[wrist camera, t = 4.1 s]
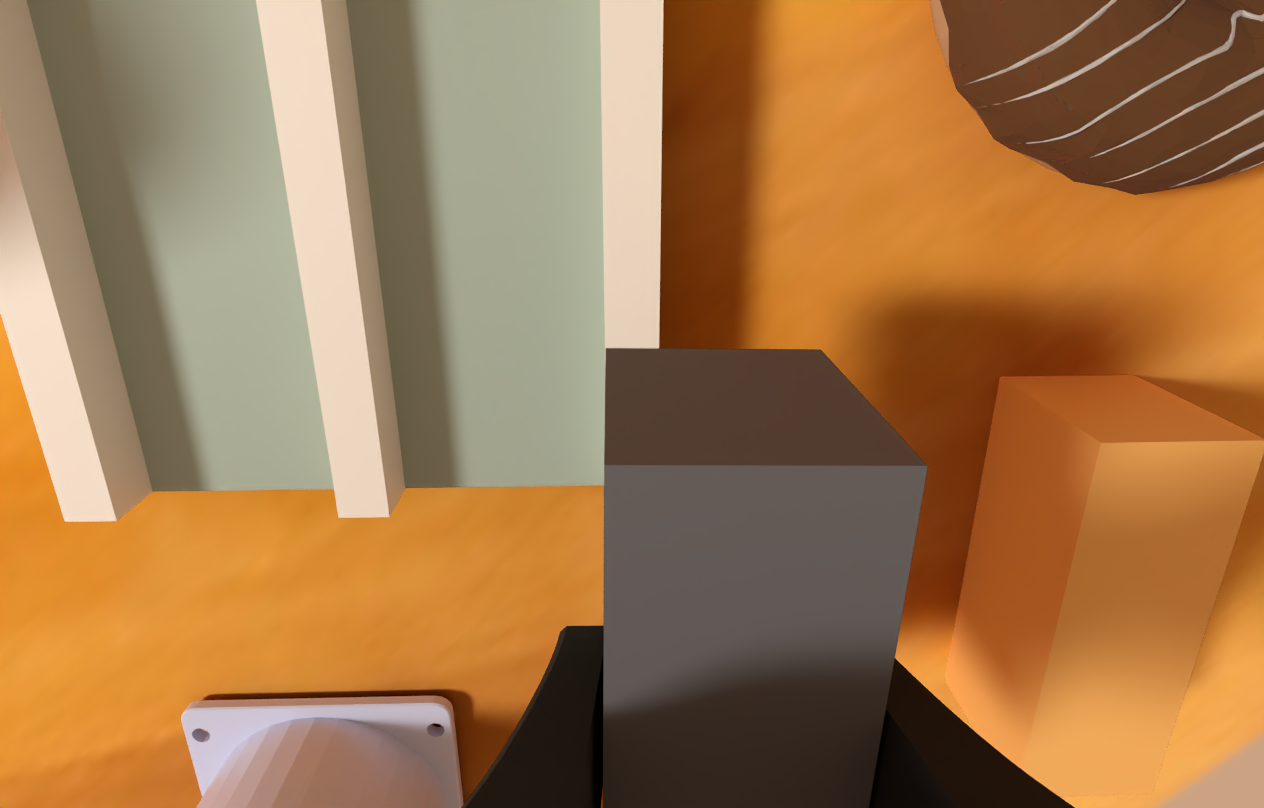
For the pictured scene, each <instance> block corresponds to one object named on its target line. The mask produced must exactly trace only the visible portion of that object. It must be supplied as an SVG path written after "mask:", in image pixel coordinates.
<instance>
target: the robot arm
mask: <svg viewBox="0 0 1264 808" xmlns="http://www.w3.org/2000/svg"><path fill="white" fill-rule="evenodd" d="M603 674H604V626H566V627H565V628H564V629H563V630H562V631H561V632H560V634H559V638H558V642H557V645H556V647H555V650H554V653H553V655H552V658H551V660H550V663H549V665H548V667H547V669H546V671H545V674H544V676H543V678H542V680H541V682H540V684H539V686H538V688H537V690H536V692H535V694H534V696H533V697H532V699H531V701H530V703H529V705H528V707H527V709H526V711H525V713H524V714H523V716H522V718H521V720H520V721H519V723H518V725H517V726H516V728H515V730H514V731H513V733H512V734H511V736H510V738H509V739H508V741H507V742H506V744H505V746H504V747H503V749H502V751H501V752H500V754H499V755H498V757H497V758H496V760H495V762H494V763H493V764H492V766H491V767H490V769H489V770H488V772H487V773H486V775H485V776H484V778H483V779H482V780H481V782H480V783H479V785H478V786H477V787H476V789H475V790H474V791H473V793H472V794H471V795H470V797H469V798H468V799H467V801H466V802H465V803H463V794H462V785H461V775H460V766H459V757H458V748H457V739H456V730H455V721H454V711H453V706H452V704H451V702H450V701H449V700H448V699H446V698H444V697H442V696H390V697H342V698H294V699H246V700H200V701H194V702H192V703H191V704H189V705H188V707H187V708H186V710H185V711H184V712H183V714H182V716H181V722H182V726H183V729H184V733H185V736H186V740H187V744H188V747H189V751H190V755H191V758H192V762H193V765H194V769H195V773H196V776H197V780H198V784H199V787H200V791H201V794H202V799H201V801H200V802H199V804H198V806H197V807H196V808H601V799H602V789H603ZM434 723H436V724H440V725H442V727H436V726H434V725H432V724H434ZM202 729H204V730H206V731H208V732H206V731H203V730H202ZM869 808H1074V807H1073V806H1072V805H1070V804H1069V803H1067V802H1066V801H1064V800H1063V799H1062V798H1060V797H1059V796H1058V795H1056V794H1055V793H1053V792H1052V791H1051V790H1049V789H1048V788H1046V787H1045V786H1044V785H1042V784H1041V783H1040V782H1038V781H1037V780H1035V779H1034V778H1033V777H1031V776H1030V775H1028V774H1027V773H1026V772H1024V771H1023V770H1022V769H1021V768H1019V767H1018V766H1017V765H1015V764H1014V763H1013V762H1011V761H1010V760H1009V759H1008V758H1006V757H1005V756H1004V755H1003V754H1001V753H1000V752H999V751H998V750H997V749H995V748H994V747H993V746H992V745H991V744H989V743H988V742H987V741H986V740H984V739H983V738H982V737H981V736H980V735H978V734H977V733H976V732H975V731H974V730H972V729H971V728H970V727H969V726H968V725H967V724H965V723H964V722H963V721H962V720H961V719H960V718H959V717H957V716H956V715H955V714H954V713H953V712H952V711H951V710H949V709H948V708H947V707H946V706H945V705H944V704H943V703H942V702H941V701H940V700H938V699H937V698H936V697H935V696H934V695H933V694H932V693H931V692H930V691H929V690H928V689H927V688H925V687H924V686H923V685H922V684H921V683H920V682H919V681H918V680H917V679H916V678H915V677H914V676H913V675H912V674H911V673H910V672H909V671H908V670H907V669H906V668H904V667H903V666H902V665H901V664H900V663H899V662H898V661H897V660H896V659H894V664H893V670H892V676H891V682H890V687H889V693H888V699H887V705H886V711H885V716H884V722H883V728H882V734H881V740H880V745H879V751H878V757H877V763H876V768H875V774H874V780H873V786H872V792H871V797H870V803H869Z"/></svg>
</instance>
